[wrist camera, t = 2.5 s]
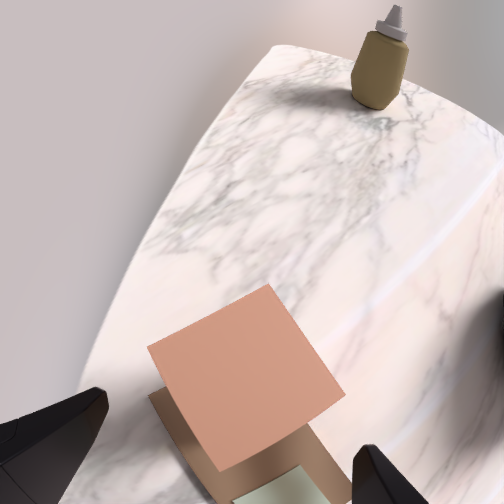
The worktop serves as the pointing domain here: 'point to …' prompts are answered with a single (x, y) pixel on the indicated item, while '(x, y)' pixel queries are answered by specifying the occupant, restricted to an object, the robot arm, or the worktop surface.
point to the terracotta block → (244, 377)
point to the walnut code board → (261, 466)
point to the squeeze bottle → (381, 63)
